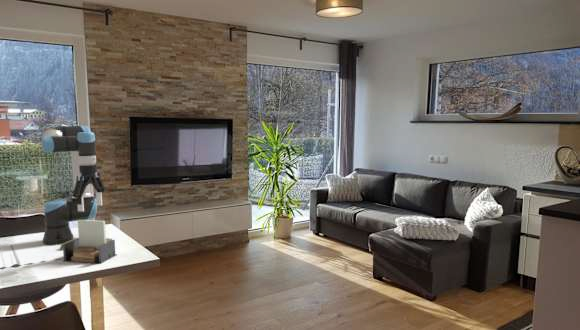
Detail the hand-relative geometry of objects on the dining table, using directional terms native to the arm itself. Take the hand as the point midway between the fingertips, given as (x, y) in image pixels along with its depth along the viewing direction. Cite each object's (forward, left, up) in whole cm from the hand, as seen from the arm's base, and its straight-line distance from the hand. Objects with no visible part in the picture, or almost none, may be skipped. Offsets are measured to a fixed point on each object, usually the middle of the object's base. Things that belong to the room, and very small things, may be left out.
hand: (90, 208), depth 205 cm
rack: (+2, 0, -26) cm, 26 cm away
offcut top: (+5, -1, -20) cm, 21 cm away
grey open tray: (-18, -18, -26) cm, 37 cm away
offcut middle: (+5, 0, -22) cm, 23 cm away
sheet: (0, 0, -24) cm, 24 cm away
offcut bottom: (+5, 0, -24) cm, 25 cm away
